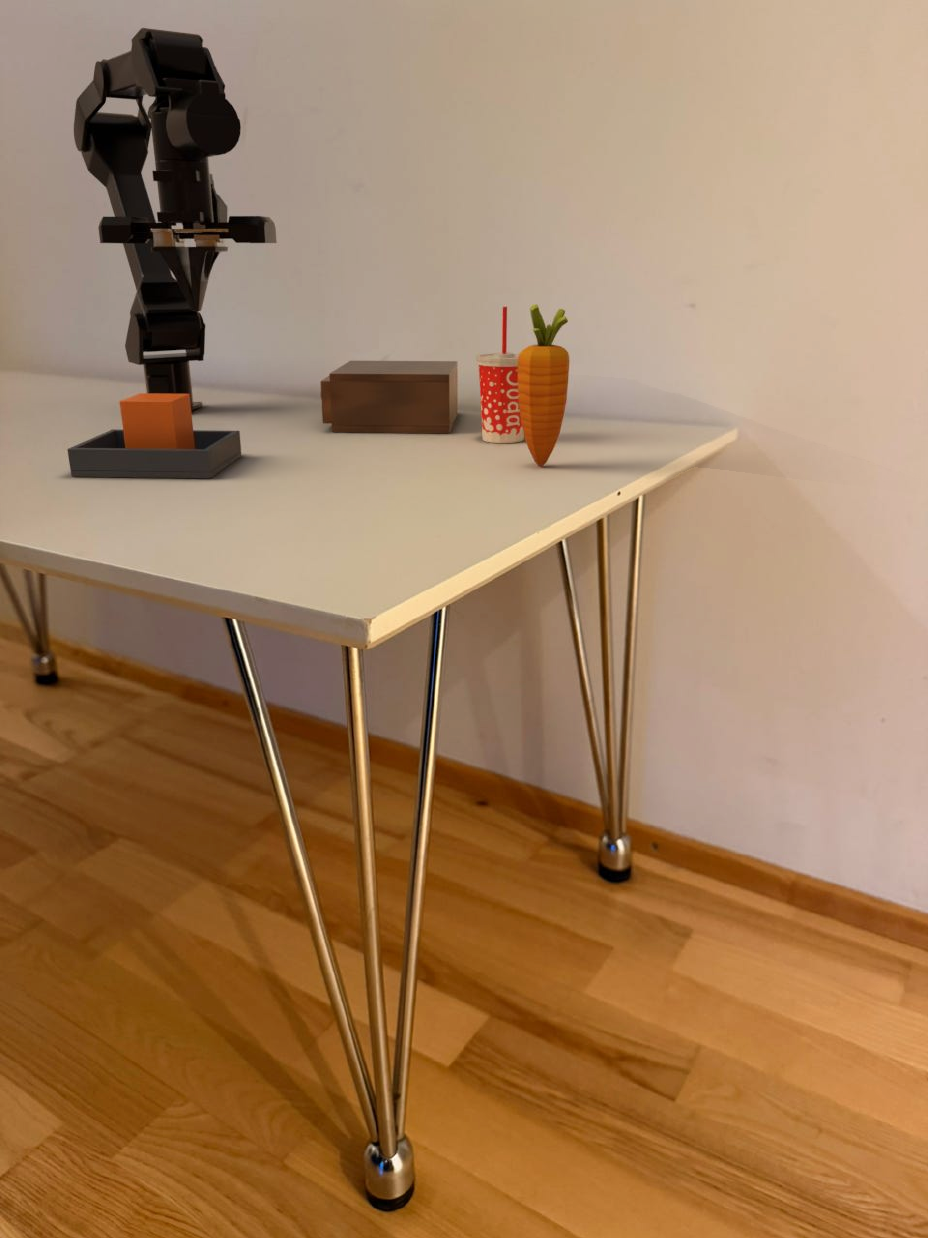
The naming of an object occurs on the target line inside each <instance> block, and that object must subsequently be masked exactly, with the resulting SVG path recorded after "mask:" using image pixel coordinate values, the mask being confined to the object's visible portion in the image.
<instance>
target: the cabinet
mask: <svg viewBox="0 0 928 1238" xmlns="http://www.w3.org/2000/svg"><path fill="white" fill-rule="evenodd" d="M458 364H459V363H458V361H457V360H349V361H347V362H345V363H344V364H343V365H340V366H339V367H338V368H336V369H334V370H333V371H331V372H330V373H329V375H328V376H329V377H330V396H331V416H332V423H331V432H332V433H363V434H364V433H369V434H371V433H374V434H375V433H376V434H379V433H380V434H386V433H387V434H450V433H451V431H452V428H453V426H454V424H455V422H456V419H457V417H458V412H459V408H458V407H459V405H458V403H459V402H458V400H459V399H458V392H459V390H458V385H459V382H458V377H459V376H458V372H459V371H458Z"/></svg>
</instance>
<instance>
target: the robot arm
mask: <svg viewBox="0 0 928 1238" xmlns="http://www.w3.org/2000/svg"><path fill="white" fill-rule="evenodd" d="M203 45H204V39H203V37H202V36H201V35H200V34H198V33H197V34H196V33H191V32H190V33H189V32H181V31H171V30H165V29H157V28H148V27H141V28H140V29H139V30H138V32H137V33H136V34H135V35H134V36H133V37H131V48H130V50H129V51H127V52H124V53H122V54H119V55H117V56H114V57H111V58H108V59H103V58H102V60H101V61H99V60H97V61H96V62H95V64H94V68H93V69H94V71H93V78H92V81H91V82H90V83H89V84H88V85H87V86H86V87H85V89H84V90H83V91H82V92H81V94H80V95H79V96H78V97H77V99H76V101H75V110H74V119H73V138H74V139H73V140H74V143H75V147H76V149H77V151H78V152H80V154H81V156H82V159H83V161H84V164H85V167H86V170H87V171H88V172H89V173H90V174H91V175H92V176H93V177H94V178H95V179H96V180H97V181H98V182H100V183H101V185H103V186H104V187H105V188H106V192H107V195H108V198H109V202H110V205H111V208H112V211H113V215H114V216H103V217H101V219H100V221H99V222H98V223H99V224H98V235H99V243H100V244H122V246H123V249H124V253H125V256H126V260H127V262H128V266H129V269H130V273H131V276H132V279H133V282H134V286H135V289H136V290H135V291H136V293H135V296H134V299H133V302H132V305H131V307H130V311H129V316H130V317H129V322H128V327H127V332H126V338H125V343H124V347H125V351H126V358H127V360H128V362H129V363H132V364H135V365H138V366H143V374H144V382H145V391H146V392H145V393H154V394H189V395H190V404H191V412H193V411H194V410H196V409H198V408H200V407H202V406H203V402H202V401H194V398H193V395H194V394H193V386H192V377H191V368H190V367H191V365H190V362H194V361H198V362H202V361H204V355H205V342H206V341H205V339H206V323H205V322H204V318H203V315H202V314H201V313H200V312H201V311H202V309H203V304H204V301H205V297H206V292H207V289H208V283H209V280H210V275H211V273H212V270H213V267H214V264H215V262H216V260H217V259H218V257H219V255H220V254H221V253H222V252H226V253H227V252H228V250H229V246H227V245H226V240H233V242H235V243H236V244H277V230H276V229H277V228H276V224H275V222H274V221H273V220H272V219H271V218H270V217H269V216H261V215H228V209H229V208H228V205H227V204H226V203H225V201H224V200H223V198H222V197H221V196H220V195H219V194H218V193H217V191H216V188H215V182H214V179H213V174H212V173H211V172H210V162H209V158H212V157H217V156H222V155H226V154H227V153H230V152H231V151H232V150H233V149H235V147H236V146H237V144H238V142H239V140H240V137H241V129H242V126H241V120H240V119H239V116H238V113H237V111H236V109H235V108H234V105H232V103H231V102H230V101H229V100H228V99H227V98H226V97H227V95H226V92H225V89H226V84H225V82H224V80H223V79H222V77H221V75H220V73H219V71H218V69H217V66H216V65H215V63H214V59H213V57H212V53H211V52H210V50H209V48H208V47H206V46H203ZM146 95H147V96H148V97H150V98H151V97H152V98H154V101H153V102H152V103H151V105H149V107H148V110H147V109H146V107H145V106H144V105H145V104H144V103H143V102H144V101H143V99H144V96H146ZM107 98H110V99H121V100H134V101H135V102H136V104H137V107H138V112H137V116H135V115H133V114H127V113H115V112H101V111H100V110H101V109H102V108H103V107H104V105H105V104H106V102H107ZM146 110H147V111H146ZM151 135H152V136H151ZM151 137H152V145H153V155H154V165H155V170H152V180H153V182H156V184H157V192H158V201H159V211H156V216H157V217H155V214H154V211H153V208H152V207H153V206H152V204H151V200H150V198H149V194H148V191H147V188H146V187H147V186H146V184H145V181H144V178H143V174H142V173H143V169H144V167H145V163H146V160H147V158H148V154H149V150H148V149H149V143H150V138H151ZM228 216H229V217H228ZM156 218H157V221H156ZM177 224H181V225H182V228H173V227H177ZM186 240H194V242H195V246H186V244H185V243H186ZM170 351H185V352H177V353H161V354H159V353H158V354H157V353H156V352H170ZM151 352H152V353H154V352H155V353H156V354H144V353H151Z"/></svg>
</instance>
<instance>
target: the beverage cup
mask: <svg viewBox="0 0 928 1238" xmlns="http://www.w3.org/2000/svg"><path fill="white" fill-rule="evenodd" d="M501 323H502V325H501V326H502V327H501V329H502V334H501V343H502V344H501V352H494V353H493V352H492V353H480V354H477V355H476V356H475V359H476V365H478V375H479V376H478V378H479V394H480V395H479V396H480V415H481V434H482V441H484V442H488V443H492V444H513V443H519V442H523V441H524V440H525V437H524V433H523V428H522V423H521V416H520V409H519V400H518V357H519V354H520V353H514V352H507V347H508V346H507V342H508V341H507V340H508V339H507V337H508V336H507V335H508V306H502V321H501Z"/></svg>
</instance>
